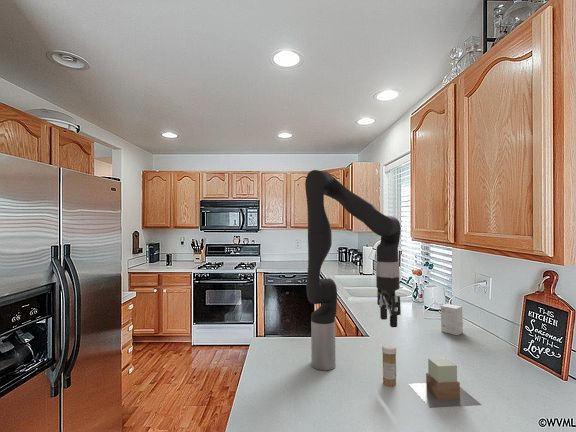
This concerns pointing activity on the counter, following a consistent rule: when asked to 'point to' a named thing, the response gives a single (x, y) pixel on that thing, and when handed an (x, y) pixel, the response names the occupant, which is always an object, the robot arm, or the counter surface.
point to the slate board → (433, 402)
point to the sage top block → (442, 370)
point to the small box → (451, 319)
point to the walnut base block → (443, 389)
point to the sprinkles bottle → (389, 365)
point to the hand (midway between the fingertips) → (388, 323)
